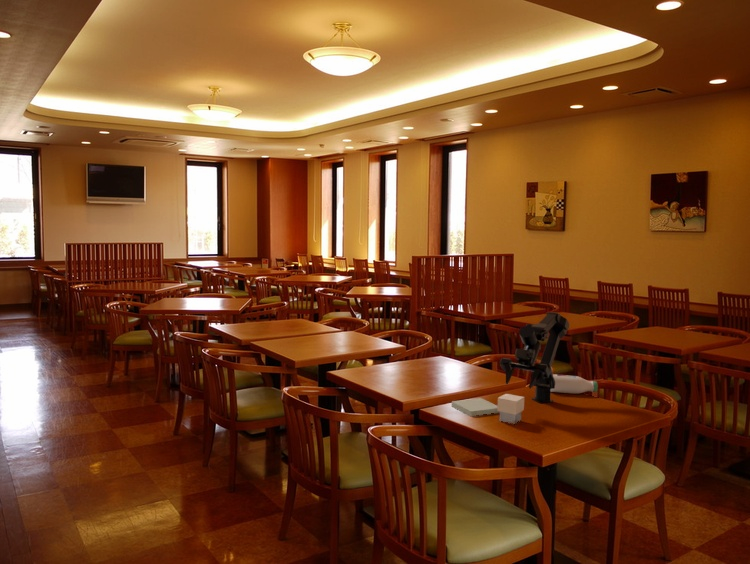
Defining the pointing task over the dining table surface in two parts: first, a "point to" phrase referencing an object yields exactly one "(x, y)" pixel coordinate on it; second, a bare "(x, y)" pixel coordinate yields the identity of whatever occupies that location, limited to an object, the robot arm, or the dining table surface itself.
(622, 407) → the dining table surface
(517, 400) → the cream lid
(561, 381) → the milk bottle
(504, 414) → the steel tin
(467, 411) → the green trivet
